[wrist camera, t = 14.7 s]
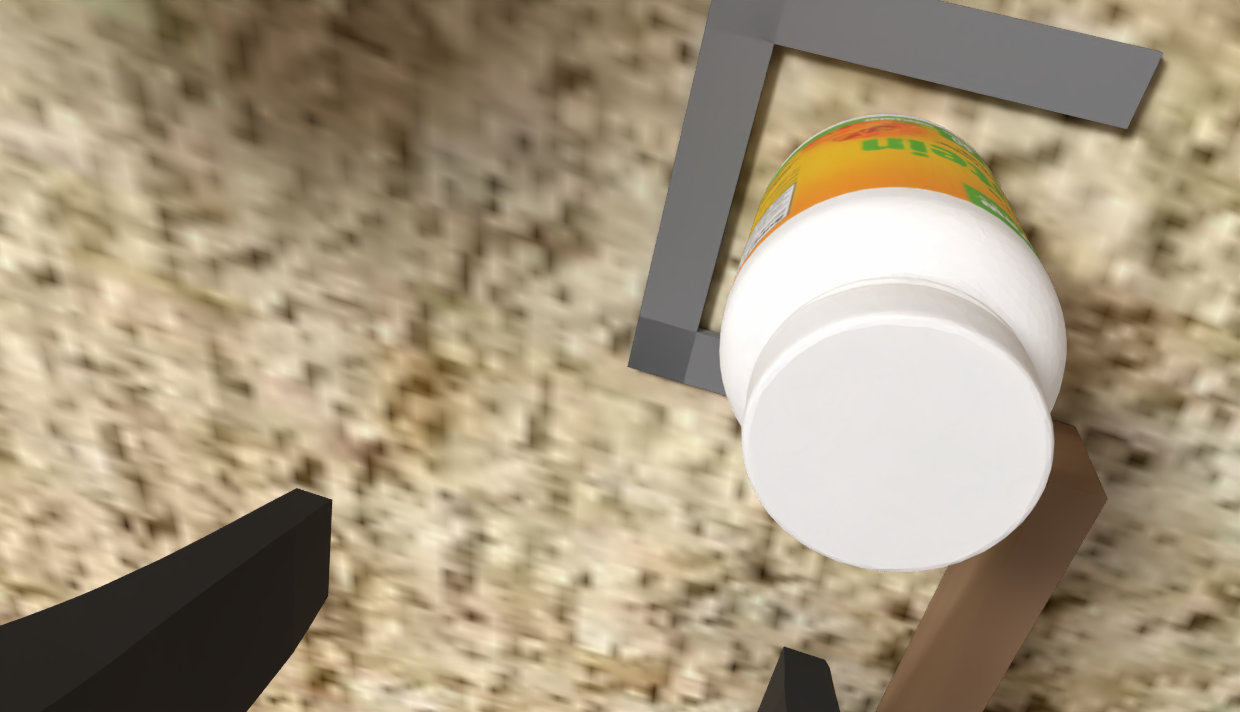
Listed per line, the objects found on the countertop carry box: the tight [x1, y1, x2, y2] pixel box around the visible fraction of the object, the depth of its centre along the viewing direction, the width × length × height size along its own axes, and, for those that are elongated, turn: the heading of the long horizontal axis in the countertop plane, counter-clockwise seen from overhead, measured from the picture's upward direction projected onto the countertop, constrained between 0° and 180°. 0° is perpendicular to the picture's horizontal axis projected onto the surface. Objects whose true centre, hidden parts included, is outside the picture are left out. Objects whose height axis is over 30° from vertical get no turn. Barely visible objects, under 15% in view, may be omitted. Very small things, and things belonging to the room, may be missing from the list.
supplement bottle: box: [719, 114, 1067, 572], centre depth 16 cm, size 5×5×10 cm
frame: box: [628, 0, 1163, 396], centre depth 20 cm, size 9×10×1 cm
